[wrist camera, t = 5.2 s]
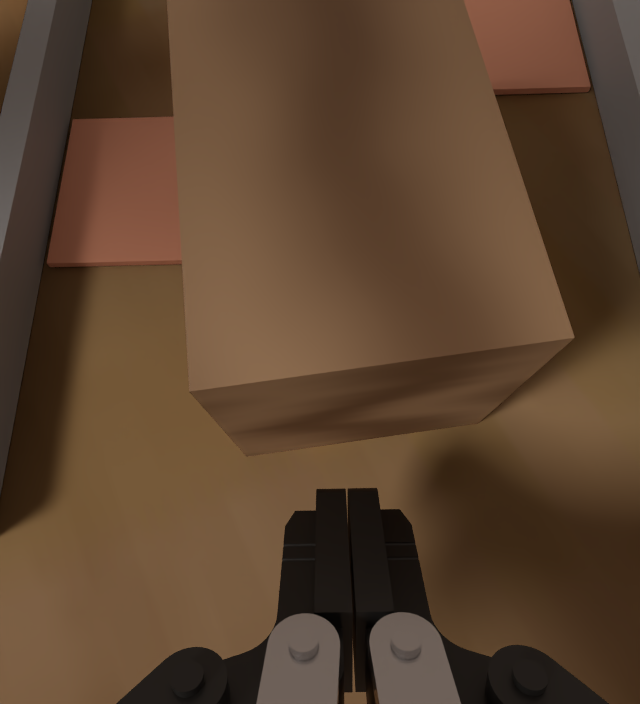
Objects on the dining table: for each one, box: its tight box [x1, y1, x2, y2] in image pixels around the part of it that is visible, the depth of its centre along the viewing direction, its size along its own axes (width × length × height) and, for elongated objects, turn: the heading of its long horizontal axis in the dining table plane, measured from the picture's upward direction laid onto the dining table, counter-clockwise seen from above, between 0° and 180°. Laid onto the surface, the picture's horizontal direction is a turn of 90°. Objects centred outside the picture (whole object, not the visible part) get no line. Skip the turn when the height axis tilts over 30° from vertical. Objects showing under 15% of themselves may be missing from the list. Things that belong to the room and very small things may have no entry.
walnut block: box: [167, 0, 575, 456], centre depth 17 cm, size 8×12×8 cm, turn 8°
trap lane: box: [0, 0, 640, 495], centre depth 21 cm, size 25×33×5 cm
